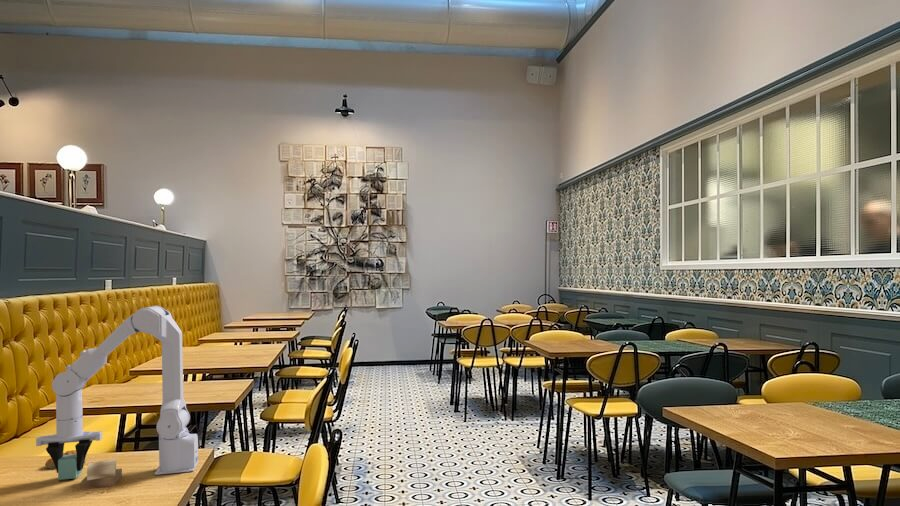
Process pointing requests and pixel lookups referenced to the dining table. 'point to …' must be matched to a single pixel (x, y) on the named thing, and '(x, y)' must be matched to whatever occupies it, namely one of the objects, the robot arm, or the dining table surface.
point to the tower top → (101, 469)
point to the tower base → (102, 481)
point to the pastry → (50, 462)
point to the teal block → (68, 467)
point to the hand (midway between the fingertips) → (70, 470)
